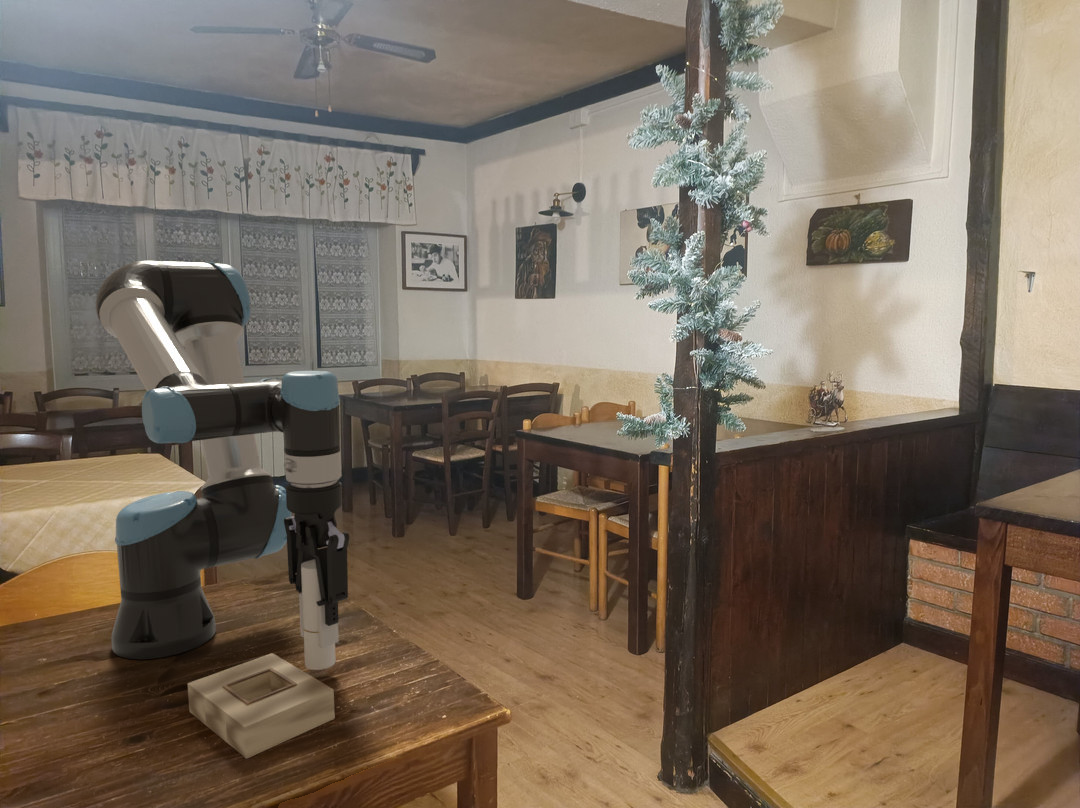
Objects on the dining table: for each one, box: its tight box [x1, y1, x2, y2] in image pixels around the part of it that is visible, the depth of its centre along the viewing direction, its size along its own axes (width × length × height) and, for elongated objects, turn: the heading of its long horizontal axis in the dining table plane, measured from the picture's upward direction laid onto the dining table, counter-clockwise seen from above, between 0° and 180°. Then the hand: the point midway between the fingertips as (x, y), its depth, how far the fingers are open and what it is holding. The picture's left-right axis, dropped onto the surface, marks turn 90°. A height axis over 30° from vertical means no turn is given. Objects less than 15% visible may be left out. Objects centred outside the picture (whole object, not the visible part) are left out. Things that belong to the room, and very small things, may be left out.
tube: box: [301, 559, 336, 671], centre depth 109 cm, size 4×4×15 cm
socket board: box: [187, 652, 336, 760], centre depth 100 cm, size 16×12×4 cm
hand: (319, 638), depth 110 cm, fingers closed on tube, 4 cm apart
